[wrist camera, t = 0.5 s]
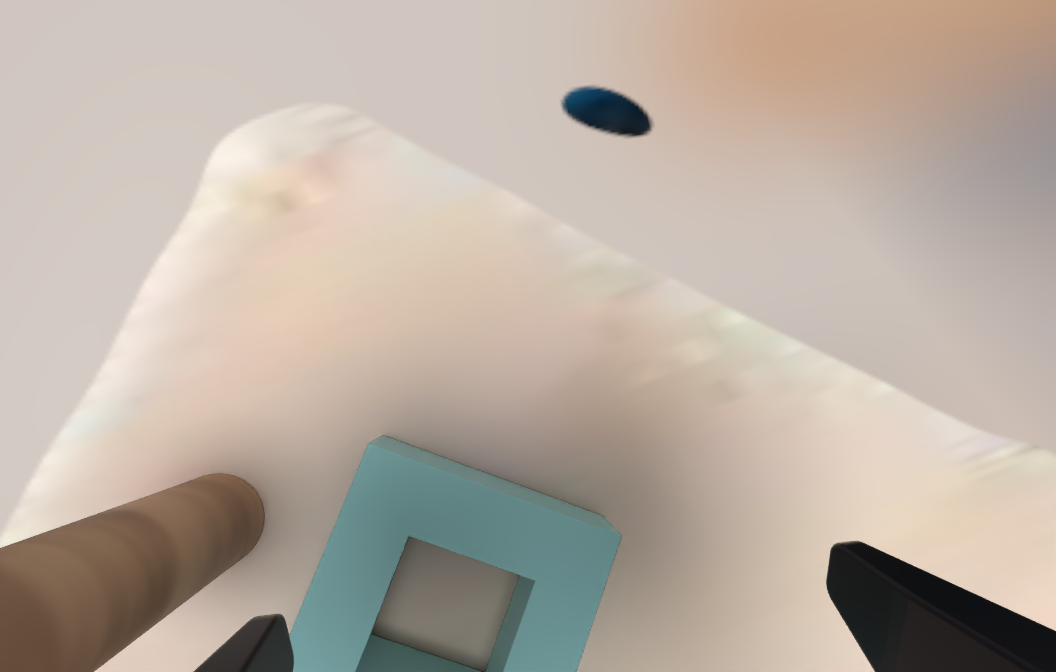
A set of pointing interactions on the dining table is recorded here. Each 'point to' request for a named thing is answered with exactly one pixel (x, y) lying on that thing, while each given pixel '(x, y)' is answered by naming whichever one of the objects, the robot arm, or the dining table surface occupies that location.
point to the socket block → (465, 528)
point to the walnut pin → (119, 572)
